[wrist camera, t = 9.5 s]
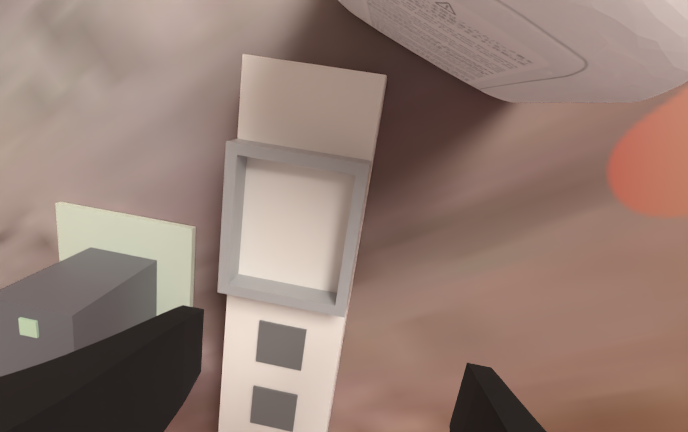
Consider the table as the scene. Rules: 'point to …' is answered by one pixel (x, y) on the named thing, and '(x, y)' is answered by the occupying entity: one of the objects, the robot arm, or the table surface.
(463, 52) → the photo printer
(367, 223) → the table surface
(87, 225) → the sage mat
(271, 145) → the white block grey frame
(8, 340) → the charger
